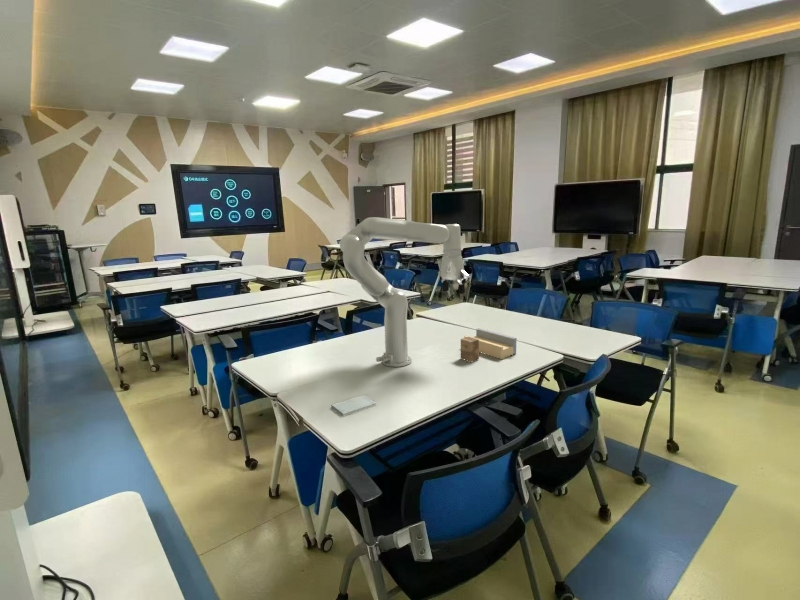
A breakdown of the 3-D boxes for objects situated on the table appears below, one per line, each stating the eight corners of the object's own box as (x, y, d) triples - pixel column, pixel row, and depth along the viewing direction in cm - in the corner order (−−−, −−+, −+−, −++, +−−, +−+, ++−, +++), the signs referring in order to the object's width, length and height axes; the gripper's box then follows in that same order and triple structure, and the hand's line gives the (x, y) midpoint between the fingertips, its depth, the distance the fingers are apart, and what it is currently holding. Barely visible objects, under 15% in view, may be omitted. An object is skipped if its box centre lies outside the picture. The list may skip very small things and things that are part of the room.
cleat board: (500, 359, 175) (501, 342, 173) (464, 347, 192) (464, 332, 191) (516, 354, 181) (516, 337, 179) (479, 343, 198) (479, 328, 197)
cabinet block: (469, 362, 172) (469, 342, 170) (459, 359, 177) (458, 339, 175) (478, 359, 175) (479, 339, 174) (468, 356, 180) (468, 336, 178)
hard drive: (342, 413, 128) (375, 402, 135) (330, 404, 134) (363, 394, 142) (343, 418, 128) (376, 406, 135) (331, 409, 135) (363, 398, 142)
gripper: (432, 253, 179) (433, 291, 183) (461, 254, 166) (462, 296, 169) (444, 251, 184) (445, 288, 187) (473, 253, 170) (474, 293, 174)
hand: (453, 292), depth 178 cm, fingers open, 9 cm apart
